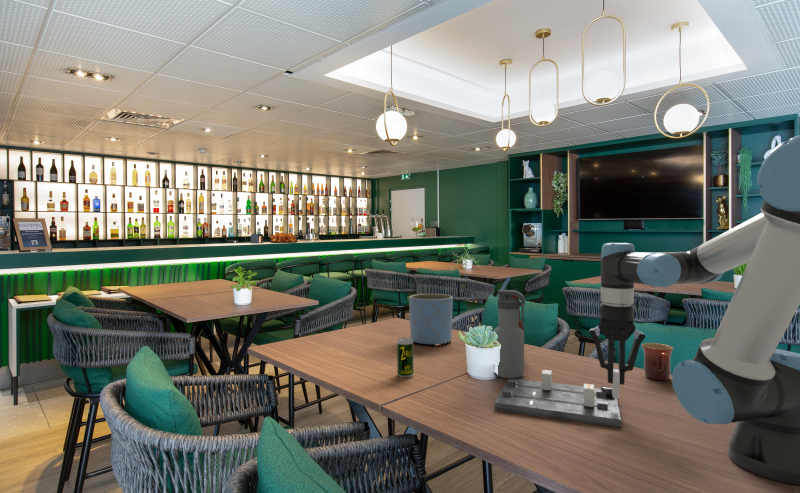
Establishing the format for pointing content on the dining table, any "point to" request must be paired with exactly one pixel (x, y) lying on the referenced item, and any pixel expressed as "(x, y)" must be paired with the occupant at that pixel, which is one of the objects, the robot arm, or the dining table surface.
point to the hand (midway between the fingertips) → (615, 396)
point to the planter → (431, 318)
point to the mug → (657, 361)
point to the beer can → (405, 357)
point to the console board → (558, 402)
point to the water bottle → (510, 335)
